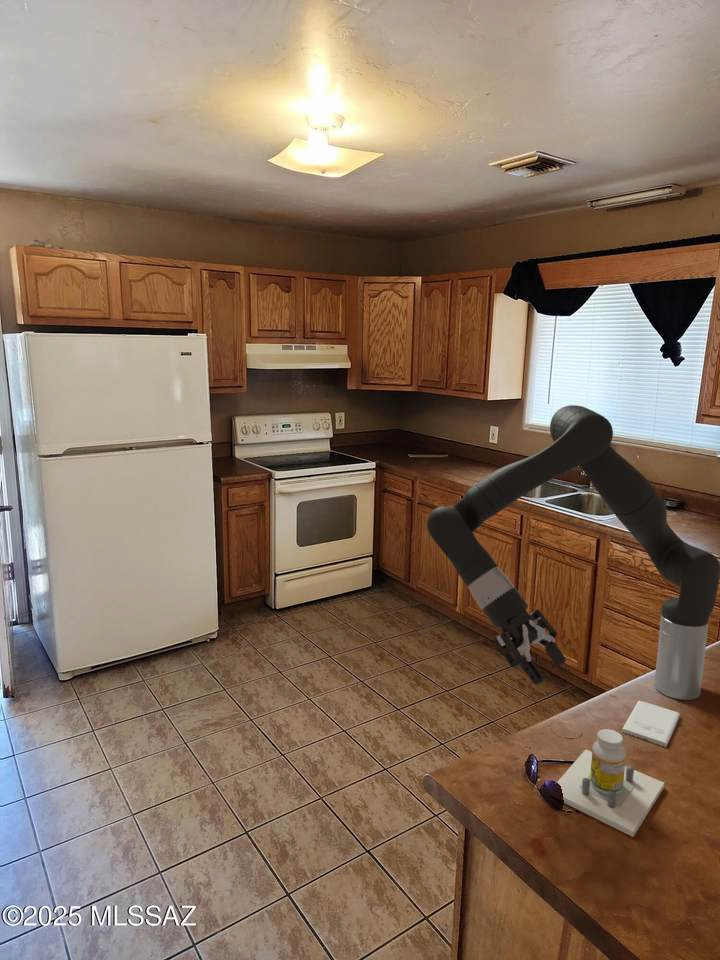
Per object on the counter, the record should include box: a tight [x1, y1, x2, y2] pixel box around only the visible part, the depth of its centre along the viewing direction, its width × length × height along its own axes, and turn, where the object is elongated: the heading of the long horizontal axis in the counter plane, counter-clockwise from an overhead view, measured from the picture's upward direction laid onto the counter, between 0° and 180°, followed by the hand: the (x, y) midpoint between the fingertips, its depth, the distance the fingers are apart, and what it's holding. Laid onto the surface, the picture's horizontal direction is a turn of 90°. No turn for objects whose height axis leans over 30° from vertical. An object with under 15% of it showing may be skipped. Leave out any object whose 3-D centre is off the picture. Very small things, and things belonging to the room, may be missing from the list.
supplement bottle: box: [590, 728, 627, 795], centre depth 107 cm, size 5×5×10 cm
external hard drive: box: [621, 700, 681, 748], centre depth 128 cm, size 2×8×12 cm
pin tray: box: [556, 749, 665, 838], centre depth 108 cm, size 15×14×4 cm
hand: (551, 672), depth 113 cm, fingers open, 8 cm apart
